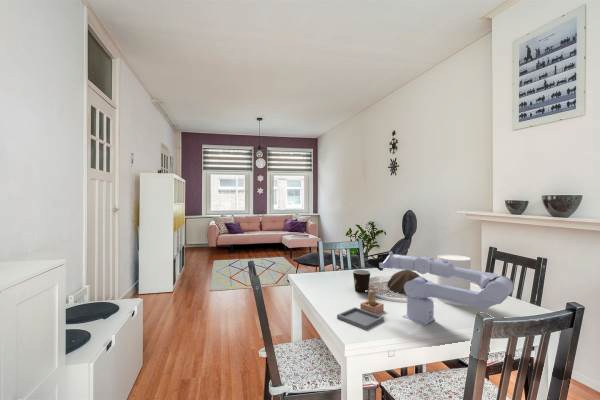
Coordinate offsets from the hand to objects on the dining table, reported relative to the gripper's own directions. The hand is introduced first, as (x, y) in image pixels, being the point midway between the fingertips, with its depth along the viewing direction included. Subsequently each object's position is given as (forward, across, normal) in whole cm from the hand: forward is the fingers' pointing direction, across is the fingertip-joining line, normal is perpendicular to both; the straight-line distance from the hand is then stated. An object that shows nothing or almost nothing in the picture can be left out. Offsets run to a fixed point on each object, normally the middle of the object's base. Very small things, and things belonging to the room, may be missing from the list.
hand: (373, 259), depth 132 cm
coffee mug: (+16, -11, +21) cm, 29 cm away
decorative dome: (+1, -30, +24) cm, 39 cm away
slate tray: (-4, +20, +19) cm, 27 cm away
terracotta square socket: (-2, +9, +20) cm, 22 cm away
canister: (-22, -29, +25) cm, 44 cm away
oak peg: (-2, +8, +19) cm, 21 cm away
